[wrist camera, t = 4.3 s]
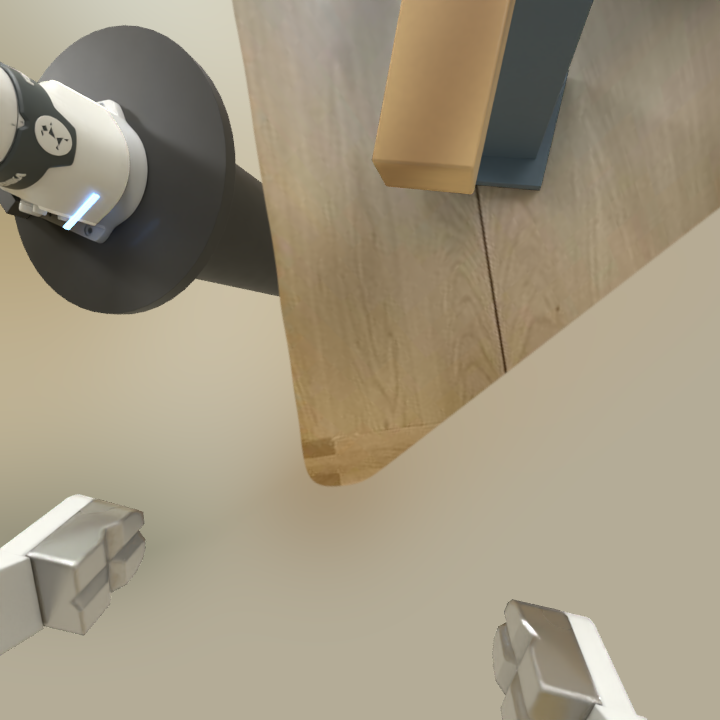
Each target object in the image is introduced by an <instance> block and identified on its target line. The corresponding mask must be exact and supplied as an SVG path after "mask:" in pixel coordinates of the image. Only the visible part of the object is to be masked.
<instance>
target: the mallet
mask: <svg viewBox="0 0 720 720" xmlns="http://www.w3.org/2000/svg"><path fill="white" fill-rule="evenodd" d="M515 1H516V0H402V1H401V7H400V12H399V17H398V23H397V28H396V34H395V39H394V44H393V50H392V55H391V61H390V66H389V71H388V77H387V82H386V87H385V93H384V98H383V104H382V109H381V114H380V120H379V125H378V131H377V136H376V141H375V147H374V152H373V158H372V161H373V163H374V165H375V167H376V169H377V171H378V172H379V174H380V176H381V178H382V180H383V181H384V183H385V185H386V186H389V187H400V188H411V189H421V190H432V191H443V192H453V193H464V194H472V193H473V192H474V189H475V184H476V180H477V175H478V171H479V166H480V161H481V157H482V152H483V148H484V143H485V138H486V134H487V129H488V125H489V120H490V115H491V111H492V106H493V102H494V97H495V92H496V88H497V83H498V79H499V74H500V70H501V65H502V60H503V56H504V51H505V47H506V42H507V37H508V33H509V28H510V24H511V19H512V14H513V10H514V5H515Z"/></svg>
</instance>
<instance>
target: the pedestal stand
mask: <svg viewBox="0 0 720 720" xmlns="http://www.w3.org/2000/svg"><path fill="white" fill-rule="evenodd" d="M592 3H593V0H516V1H515V5H514V10H513V14H512V19H511V24H510V28H509V33H508V37H507V42H506V47H505V51H504V56H503V60H502V65H501V70H500V74H499V79H498V83H497V88H496V92H495V97H494V102H493V106H492V111H491V115H490V120H489V125H488V129H487V134H486V138H485V143H484V148H483V152H482V157H481V161H480V166H479V171H478V175H477V180H476V184H475V185H484V186H495V187H506V188H518V189H529V190H540V188H541V185H542V181H543V177H544V172H545V168H546V164H547V160H548V156H549V151H550V147H551V143H552V139H553V135H554V130H555V126H556V122H557V118H558V113H559V109H560V105H561V101H562V97H563V92H564V88H565V84H566V80H567V76H568V71H569V70H568V69H569V66H570V63H571V61H572V58H573V55H574V52H575V50H576V47H577V44H578V41H579V39H580V36H581V33H582V30H583V28H584V25H585V22H586V19H587V17H588V14H589V11H590V8H591V6H592Z"/></svg>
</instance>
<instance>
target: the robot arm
mask: <svg viewBox="0 0 720 720" xmlns="http://www.w3.org/2000/svg"><path fill="white" fill-rule="evenodd" d="M147 173H148V166H147V157H146V153H145V149H144V146H143V144H142V142H141V140H140V138H139V136H138V135H137V133H136V132H135V131H134V130H133V129H132V128H131V127H130V126H129V125H128V123H127V122H126V120H125V117H124V114H123V111H122V109H121V107H120V105H119V104H117V103H116V102H114V101H112V100H104V101H100V102H94V101H92V100H90V99H89V98H87V97H85V96H83V95H81V94H80V93H78V92H76V91H74V90H72V89H71V88H69V87H67V86H65V85H63V84H61V83H59V82H57V81H54V80H50V81H45V82H41V83H39V84H38V83H37V82H35V81H34V80H32V79H30V78H28V77H27V76H26V75H25V74H23V73H21V72H20V71H18V70H16V69H15V68H13V67H10V66H8V65H5V64H3V63H2V62H0V204H1V205H2V207H3V208H4V210H5V212H6V213H8V214H11V215H15V216H18V217H22V218H26V219H28V217H29V216H30V214H31V215H34V216H38V217H41V218H43V219H46V220H48V221H50V222H52V223H54V224H57V225H59V226H61V227H63V228H64V229H68V230H70V231H72V232H75V233H77V234H79V235H81V236H83V237H86V238H88V239H90V240H92V241H95V242H98V243H103V242H105V241H106V240H107V239H108V237H109V236H110V234H111V233H112V231H113V229H114V228H115V227H116V226H118V225H119V224H121V223H122V222H124V221H125V220H126V219H127V218H129V217H130V216H131V215H132V213H133V212H134V211H135V210H136V208H137V207H138V205H139V203H140V201H141V199H142V197H143V194H144V191H145V187H146V182H147ZM143 525H144V516H143V512H142V511H139V510H137V509H133V508H129V507H125V506H122V505H118V504H114V503H111V502H107V501H104V500H100V499H95V498H91V497H88V496H84V495H80V494H77V495H74V496H70V497H68V498H67V499H66V500H64V501H63V502H61V503H60V504H59V505H58V506H56V507H55V508H53V509H52V510H51V511H49V512H48V513H47V514H46V515H44V516H43V517H41V518H40V519H39V520H37V521H36V522H35V523H33V524H32V525H31V526H30V527H28V528H27V529H25V530H24V531H23V532H21V533H20V534H19V535H17V536H16V537H15V538H13V539H12V540H11V541H9V542H8V543H7V544H5V545H4V546H3V547H1V548H0V656H1V655H2V654H4V653H5V652H7V651H9V650H10V649H12V648H13V647H15V646H17V645H18V644H20V643H21V642H23V641H25V640H26V639H28V638H30V637H31V636H33V635H34V634H36V633H37V632H39V631H41V630H42V629H43V626H46V627H50V628H54V629H58V630H63V631H67V632H71V633H75V634H79V635H85V634H86V633H87V631H88V630H89V629H90V628H91V627H92V625H93V624H94V623H95V622H96V621H97V619H98V618H99V617H100V616H101V615H102V613H103V612H104V611H105V609H107V607H108V606H109V605H110V601H111V593H112V592H114V591H115V590H117V589H119V588H121V587H123V586H125V585H126V584H127V583H128V582H129V581H130V579H131V578H132V577H133V576H134V574H135V573H136V571H137V570H138V567H139V566H140V564H141V562H142V560H143V557H144V552H145V538H144V537H143V536H142V534H141V533H140V531H139V529H140V528H141V527H142V526H143ZM504 614H505V618H506V623H504V624H502V625H500V626H498V628H497V631H496V634H495V637H494V643H493V667H494V673H495V679H496V682H497V684H498V685H499V687H500V688H501V689H502V691H503V692H504V694H505V695H506V696H505V699H504V701H503V703H502V706H501V714H502V719H503V720H647V718H645V717H642V716H638V715H637V714H636V712H635V710H634V708H633V706H632V704H631V702H630V699H629V697H628V695H627V693H626V691H625V689H624V687H623V684H622V682H621V680H620V678H619V676H618V674H617V671H616V669H615V667H614V665H613V663H612V661H611V659H610V656H609V654H608V652H607V650H606V648H605V646H604V644H603V641H602V639H601V637H600V635H599V633H598V631H597V628H596V626H595V624H594V623H593V622H592V621H591V619H590V618H589V617H585V616H580V615H576V614H572V613H568V612H564V611H560V610H556V609H552V608H547V607H543V606H539V605H535V604H530V603H525V602H521V601H517V600H511V601H510V602H508V604H507V606H506V608H505V611H504Z"/></svg>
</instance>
